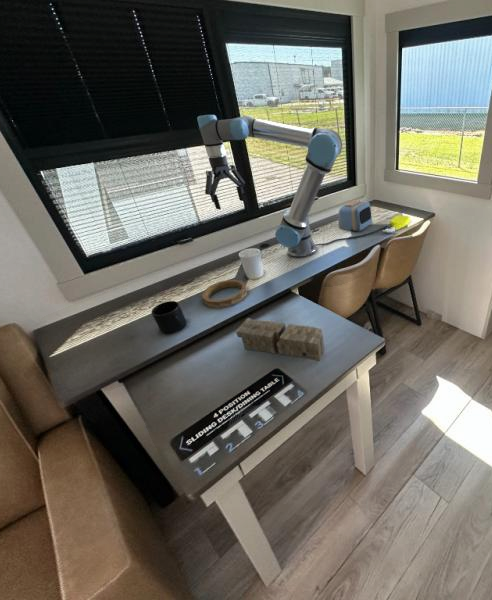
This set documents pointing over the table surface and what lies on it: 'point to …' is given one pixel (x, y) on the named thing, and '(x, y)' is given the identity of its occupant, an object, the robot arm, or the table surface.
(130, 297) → the table surface
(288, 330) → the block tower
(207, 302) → the stand
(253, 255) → the white cup
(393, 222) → the spray bottle
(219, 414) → the table surface
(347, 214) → the alarm clock
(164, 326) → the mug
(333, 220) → the table surface
